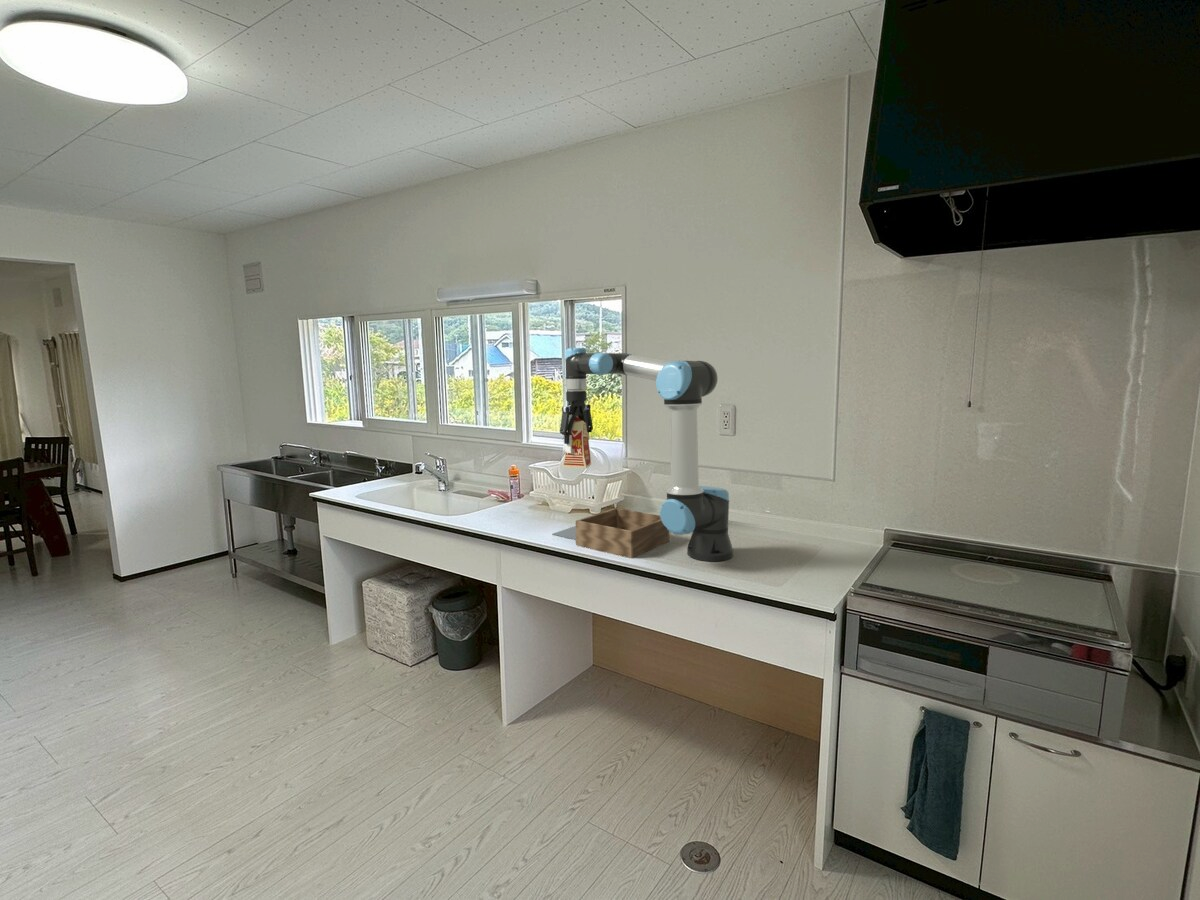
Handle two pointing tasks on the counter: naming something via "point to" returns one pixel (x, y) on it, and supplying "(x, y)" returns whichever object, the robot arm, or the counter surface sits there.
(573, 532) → the slate mat
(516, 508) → the counter surface
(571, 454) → the milk carton
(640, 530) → the walnut surround
